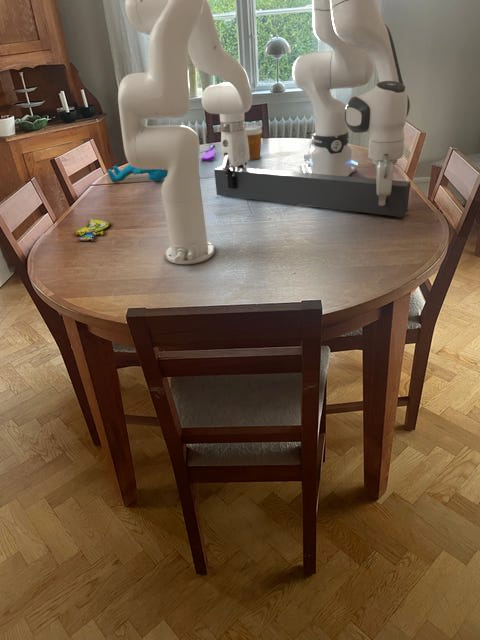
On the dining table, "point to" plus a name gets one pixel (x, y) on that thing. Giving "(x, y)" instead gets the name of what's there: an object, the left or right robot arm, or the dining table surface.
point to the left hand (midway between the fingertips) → (237, 185)
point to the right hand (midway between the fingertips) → (381, 200)
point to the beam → (314, 190)
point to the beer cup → (254, 140)
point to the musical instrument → (209, 154)
